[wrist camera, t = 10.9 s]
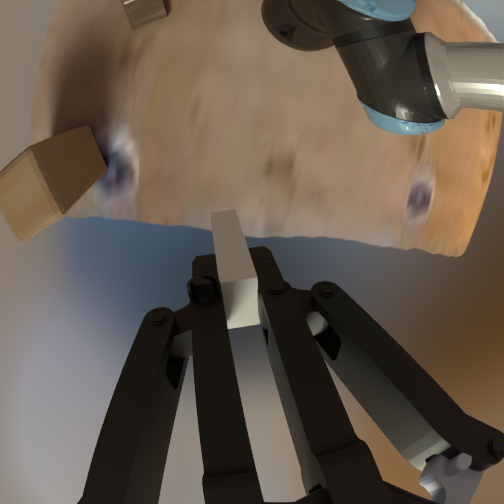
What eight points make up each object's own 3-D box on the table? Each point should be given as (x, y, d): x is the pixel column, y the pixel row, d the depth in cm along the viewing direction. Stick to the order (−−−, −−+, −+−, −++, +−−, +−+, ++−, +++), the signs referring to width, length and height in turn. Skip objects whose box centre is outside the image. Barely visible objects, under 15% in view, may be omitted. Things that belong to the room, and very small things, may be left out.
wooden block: (49, 148, 36) (-15, 185, 20) (90, 122, 36) (29, 144, 20) (70, 192, 42) (18, 247, 26) (110, 170, 42) (64, 217, 25)
